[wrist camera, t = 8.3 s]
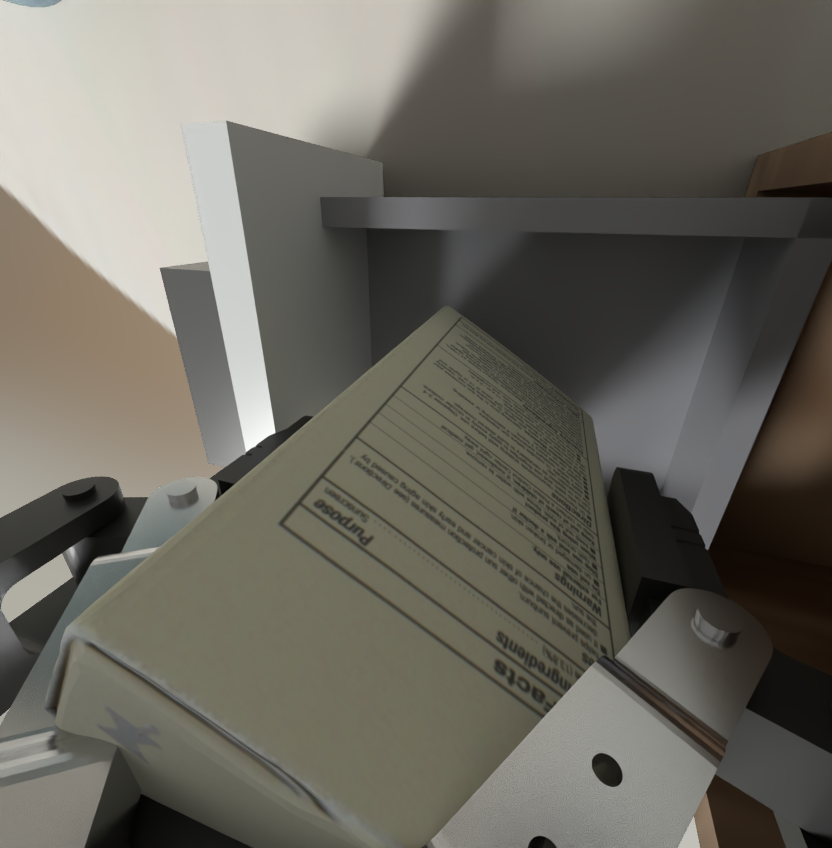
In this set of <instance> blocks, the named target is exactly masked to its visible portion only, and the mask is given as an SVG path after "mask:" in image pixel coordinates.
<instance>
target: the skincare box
mask: <svg viewBox="0 0 832 848" xmlns="http://www.w3.org/2000/svg"><path fill="white" fill-rule="evenodd" d="M630 639H631V634H630V628H629V622H628V619H627V613H626V607H625V601H624V595H623V589H622V583H621V577H620V571H619V565H618V560H617V554H616V548H615V542H614V536H613V531H612V526H611V520H610V515H609V509H608V503H607V497H606V492H605V486H604V480H603V475H602V469H601V464H600V458H599V452H598V446H597V440H596V436H595V429H594V423H593V419H592V417H591V416H590V415H589V414H588V413H587V412H585V411H584V410H583V409H582V408H581V407H579V406H578V405H577V404H576V403H575V402H574V401H572V400H571V399H570V398H569V397H568V396H566V395H565V394H564V393H563V392H561V391H560V390H559V389H558V388H557V387H555V386H554V385H553V384H552V383H550V382H549V381H548V380H547V379H545V378H544V377H543V376H542V375H540V374H539V373H538V372H537V371H535V370H534V369H533V368H532V367H530V366H529V365H528V364H526V363H525V362H524V361H523V360H521V359H520V358H519V357H517V356H516V355H515V354H513V353H512V352H511V351H510V350H508V349H507V348H506V347H504V346H503V345H502V344H500V343H499V342H498V341H496V340H495V339H494V338H492V337H491V336H490V335H488V334H487V333H486V332H484V331H483V330H482V329H480V328H479V327H478V326H476V325H475V324H474V323H472V322H471V321H469V320H468V319H467V318H465V317H464V316H462V315H461V314H460V313H458V312H457V311H456V310H454V309H453V308H451V307H450V306H444V307H443V308H442V309H440V310H439V311H438V312H437V313H436V314H435V315H433V316H432V317H431V318H430V319H429V320H428V321H426V322H425V323H424V324H423V325H422V326H420V327H419V328H418V329H417V330H416V331H414V332H413V333H412V334H411V335H410V336H408V337H407V338H406V339H405V340H404V341H403V342H401V343H400V344H399V345H398V346H397V347H395V348H394V349H393V350H392V351H391V352H389V353H388V354H387V355H386V356H385V357H384V358H382V359H381V360H380V361H379V362H378V363H377V364H375V365H374V366H373V367H372V368H371V369H369V370H368V371H367V372H366V373H365V374H363V375H362V376H361V377H360V378H359V379H358V380H356V381H355V382H354V383H353V384H352V385H351V386H349V387H348V388H347V389H346V390H345V391H344V392H342V393H341V394H340V395H339V396H338V397H337V398H335V399H334V400H333V401H332V402H331V403H330V404H328V405H327V406H326V407H325V408H324V409H323V410H321V411H320V412H319V413H318V414H317V415H316V416H314V417H313V418H312V419H311V420H310V421H308V422H307V423H306V424H305V425H304V426H303V427H301V428H300V429H299V430H298V431H297V432H296V433H294V434H293V435H292V436H291V437H290V438H289V439H287V440H286V441H285V442H284V443H283V444H282V445H280V446H279V447H278V448H277V449H276V450H274V451H273V452H272V453H271V454H270V455H269V456H267V457H266V458H265V459H264V460H263V461H262V462H260V463H259V464H258V465H257V466H256V467H255V468H253V469H252V470H251V471H250V472H249V473H247V474H246V475H245V476H244V477H243V478H241V479H240V480H239V481H238V482H237V483H236V484H234V485H233V486H232V487H231V488H230V489H229V490H227V491H226V492H225V493H224V494H223V495H221V496H220V497H219V498H218V499H217V500H216V501H214V502H213V503H212V504H211V505H210V506H208V507H207V508H206V509H205V510H204V511H203V512H201V513H200V514H199V515H198V516H197V517H195V518H194V519H193V520H192V521H191V522H189V523H188V524H187V525H186V526H185V527H183V528H182V529H181V530H180V531H179V532H177V533H176V534H175V535H174V536H173V537H171V538H170V539H169V540H168V541H166V542H165V543H164V544H163V545H162V546H160V547H159V548H158V549H157V550H156V551H154V552H153V553H152V554H151V555H149V556H148V557H147V558H146V559H145V560H143V561H142V562H141V563H140V564H139V565H138V566H136V567H135V568H134V569H133V570H132V571H131V572H129V573H128V574H127V575H126V576H125V577H123V578H122V579H121V580H120V581H119V582H118V583H116V584H115V585H114V586H113V587H112V588H110V589H109V590H108V591H107V592H106V593H105V594H103V595H102V596H101V597H100V598H99V599H97V600H96V601H95V602H94V603H93V604H92V605H91V606H89V607H88V608H87V609H86V610H85V611H84V612H83V613H82V614H80V615H79V616H78V617H77V618H76V619H75V620H74V621H73V622H72V623H70V624H69V625H68V626H67V627H66V629H65V631H64V634H63V637H62V640H61V644H60V653H59V657H58V659H57V661H56V663H55V666H54V668H53V675H52V678H51V681H50V684H49V687H48V690H47V695H46V699H45V704H44V708H49V707H57V715H56V718H55V721H54V724H55V725H56V726H58V727H59V728H60V729H62V730H64V731H67V732H70V733H73V734H76V735H81V736H88V737H93V738H97V739H101V740H104V741H107V742H110V743H113V744H115V745H118V747H119V749H120V750H121V752H122V754H123V756H124V758H125V760H126V762H127V763H128V765H129V767H130V769H131V771H132V773H133V775H134V777H135V778H136V780H137V782H138V784H139V786H140V788H141V790H142V791H141V794H143V795H145V796H147V797H149V798H151V799H153V800H155V801H157V802H159V803H161V804H163V805H165V806H167V807H169V808H171V809H173V810H176V811H178V812H180V813H182V814H184V815H186V816H188V817H190V818H192V819H194V820H196V821H198V822H200V823H202V824H204V825H206V826H208V827H210V828H212V829H214V830H216V831H218V832H221V833H223V834H225V835H227V836H229V837H231V838H233V839H236V840H238V841H240V842H242V843H244V844H246V845H249V846H251V847H253V848H422V847H423V846H424V845H426V844H427V843H428V842H429V841H430V840H431V839H432V838H434V837H435V836H436V835H437V834H438V832H439V831H440V830H441V829H442V828H443V827H444V826H445V825H446V824H447V823H448V822H449V821H450V819H451V818H452V817H453V816H454V815H455V814H456V813H457V812H458V811H459V810H460V808H461V807H462V806H463V805H464V804H465V803H466V802H467V801H468V800H469V799H470V798H471V796H472V795H473V794H474V793H475V792H476V791H477V790H478V789H479V788H480V787H481V786H482V784H483V783H484V782H485V781H486V780H487V779H488V778H489V777H490V776H491V775H492V773H493V772H494V771H495V770H496V769H497V768H498V767H499V766H500V765H501V764H502V763H503V761H504V760H505V759H506V758H507V757H508V756H509V755H510V754H511V753H512V752H513V751H514V749H515V748H516V747H517V746H518V745H519V744H520V743H521V742H522V741H523V740H524V738H525V737H526V736H527V735H528V734H529V733H530V732H531V731H532V730H533V729H534V728H535V726H536V725H537V724H538V723H539V722H540V721H541V720H542V719H543V718H544V717H545V716H546V714H547V713H548V712H549V711H550V710H551V709H552V708H553V707H554V706H555V705H556V703H557V702H558V701H559V700H560V699H561V698H562V697H563V696H564V695H565V694H566V693H567V691H568V690H569V689H570V688H571V687H572V686H573V685H574V684H575V683H576V682H577V681H578V679H579V678H580V677H581V676H582V675H583V674H584V673H585V672H586V671H587V670H588V668H589V667H590V666H591V665H592V664H593V663H594V662H595V661H596V660H597V659H599V658H600V657H601V656H604V655H606V656H607V657H609V658H610V659H611V660H612V659H613V658H614V657H615V656H616V655H617V654H618V653H619V652H620V651H621V650H622V648H623V647H624V646H625V645H626V644H627V643H628V642H629V640H630Z"/></svg>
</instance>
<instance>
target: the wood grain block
mask: <svg viewBox="0 0 832 848" xmlns="http://www.w3.org/2000/svg"><path fill="white" fill-rule="evenodd" d="M745 197H789V198H832V132H830V133H827V134H824V135H821V136H818V137H815V138H811V139H808V140H805V141H802V142H799V143H796V144H793V145H789V146H786V147H783V148H780V149H777V150H774V151H771V152H767V153H764V154H761V155H758V158H757V161H756V164H755V167H754V170H753V173H752V176H751V179H750V183H749V186H748V189H747V192H746V195H745ZM708 552H709V555H710V557H711V559H712V562H713V564H714V566H715V569H716V571H717V574H718V576H719V578H720V581H721V583H722V585H723V588H724V590H725V592H726V595H727V597H728V599H729V600H731V601H733V602H735V603H736V604H738V605H739V606H741V607H742V608H744V609H745V610H746V611H748V612H749V613H750V614H751V615H752V616H754V617H755V618H756V619H757V620H758V621H759V623H760V624H761V625H762V626H763V627H764V629H765V630H766V631H767V633H768V635H769V637H770V639H771V642H772V645H773V647H774V648H775V649H777V650H779V651H780V652H782V653H784V654H786V655H788V656H790V657H792V658H794V659H796V660H798V661H800V662H803V663H805V664H807V665H809V666H811V667H814V668H816V669H818V670H820V671H822V672H824V673H827V674H829V675H831V676H832V260H831V262H830V264H829V267H828V269H827V272H826V274H825V276H824V279H823V281H822V283H821V286H820V288H819V290H818V293H817V295H816V297H815V300H814V302H813V304H812V307H811V309H810V312H809V314H808V316H807V319H806V321H805V323H804V326H803V328H802V330H801V333H800V335H799V337H798V340H797V342H796V344H795V347H794V349H793V351H792V354H791V356H790V359H789V361H788V363H787V366H786V368H785V370H784V373H783V375H782V377H781V380H780V382H779V384H778V387H777V389H776V391H775V394H774V396H773V399H772V401H771V403H770V406H769V408H768V410H767V413H766V415H765V417H764V420H763V422H762V424H761V427H760V429H759V431H758V434H757V436H756V439H755V441H754V443H753V446H752V448H751V450H750V453H749V455H748V457H747V460H746V462H745V464H744V467H743V469H742V471H741V474H740V476H739V478H738V481H737V483H736V486H735V488H734V490H733V493H732V495H731V497H730V500H729V502H728V504H727V507H726V509H725V511H724V514H723V516H722V518H721V521H720V523H719V526H718V528H717V530H716V533H715V535H714V537H713V540H712V542H711V544H710V547H709V549H708ZM694 818H695V823H696V828H697V833H698V838H699V843H700V848H786V846H785V843H784V840H783V837H782V835H781V832H780V829H779V826H778V823H777V821H776V818H775V815H774V812H773V810H772V809H770V808H769V807H767V806H765V805H764V804H762V803H761V802H759V801H757V800H756V799H754V798H753V797H751V796H749V795H748V794H746V793H745V792H743V791H741V790H740V789H738V788H737V787H735V786H733V785H732V784H730V783H729V782H727V781H725V780H724V779H722V778H721V777H719V776H717V775H716V774H715V775H714V777H713V779H712V781H711V783H710V785H709V787H708V789H707V790H706V792H705V794H704V796H703V798H702V800H701V802H700V804H699V806H698V808H697V810H696V812H695V814H694Z"/></svg>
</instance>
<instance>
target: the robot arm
mask: <svg viewBox="0 0 832 848" xmlns="http://www.w3.org/2000/svg"><path fill="white" fill-rule="evenodd" d="M313 417H314V416H307V415H306V416H303V417H302V418H300V419H299V420H298V421H296V422H295V423H294V424H292V425H291V426H290V427H288V428H287V429H285V430H282V431H280V432H277V433H275V434H272V435H269V436H268V437H266V438H265V439H264V440H262V441H261V442H259V443H258V444H257V445H256V447H253V448H251V449H250V450H248V451H247V452H246V454H245V455H242V456H240V457H239V458H237V459H236V460H235V461H233V462H232V463H230V464H229V465H228V466H226V467H225V468H224V469H222V470H221V471H219V472H218V473H217V474H216V475H214V476H213V477H211V478H210V479H209V478H204V477H189V478H183V479H179V480H175V481H172V482H170V483H167V484H165V485H163V486H161V487H160V488H158V489H156V490H155V491H154V492H153V493H152V494H151V495H150V496H149V497H135V498H133V497H129V498H124V497H123V495H122V492H121V489H120V486H119V483H118V482H117V480H115V479H113V478H110V477H91V478H85V479H81V480H77V481H74V482H71V483H68V484H66V485H63V486H61V487H59V488H57V489H55V490H53V491H51V492H49V493H48V494H46V495H44V496H42V497H40V498H38V499H36V500H34V501H32V502H30V503H28V504H26V505H24V506H23V507H21V508H19V509H17V510H15V511H13V512H11V513H9V514H7V515H5V516H3V517H2V518H0V716H1V715H2V714H3V713H4V712H6V711H7V710H8V709H9V708H10V709H9V711H8V713H7V715H6V716H5V718H4V720H3V722H2V724H1V725H0V848H253V847H251V846H249V845H246V844H244V843H242V842H240V841H238V840H236V839H233V838H231V837H229V836H227V835H225V834H223V833H221V832H218V831H216V830H214V829H212V828H210V827H208V826H206V825H204V824H202V823H200V822H198V821H196V820H194V819H192V818H190V817H188V816H186V815H184V814H182V813H180V812H178V811H176V810H173V809H171V808H169V807H167V806H165V805H163V804H161V803H159V802H157V801H155V800H153V799H151V798H149V797H147V796H145V795H143V794H141V791H142V790H141V788H140V786H139V784H138V782H137V780H136V778H135V777H134V775H133V773H132V771H131V769H130V767H129V765H128V763H127V762H126V760H125V758H124V756H123V754H122V752H121V750H120V749H119V747H118V745H115V744H113V743H110V742H107V741H104V740H101V739H97V738H93V737H88V736H81V735H76V734H73V733H70V732H67V731H64V730H62V729H60V728H59V727H58V726H56V725H55V724H54V721H55V718H56V715H57V707H49V708H44V704H45V699H46V695H47V690H48V687H49V684H50V681H51V678H52V675H53V668H54V666H55V663H56V661H57V659H58V657H59V653H60V644H61V640H62V637H63V634H64V631H65V629H66V627H67V626H68V625H69V624H70V623H72V622H73V621H74V620H75V619H76V618H77V617H78V616H79V615H80V614H82V613H83V612H84V611H85V610H86V609H87V608H88V607H89V606H91V605H92V604H93V603H94V602H95V601H96V600H97V599H99V598H100V597H101V596H102V595H103V594H105V593H106V592H107V591H108V590H109V589H110V588H112V587H113V586H114V585H115V584H116V583H118V582H119V581H120V580H121V579H122V578H123V577H125V576H126V575H127V574H128V573H129V572H131V571H132V570H133V569H134V568H135V567H136V566H138V565H139V564H140V563H141V562H142V561H143V560H145V559H146V558H147V557H148V556H149V555H151V554H152V553H153V552H154V551H156V550H157V549H158V548H159V547H160V546H162V545H163V544H164V543H165V542H166V541H168V540H169V539H170V538H171V537H173V536H174V535H175V534H176V533H177V532H179V531H180V530H181V529H182V528H183V527H185V526H186V525H187V524H188V523H189V522H191V521H192V520H193V519H194V518H195V517H197V516H198V515H199V514H200V513H201V512H203V511H204V510H205V509H206V508H207V507H208V506H210V505H211V504H212V503H213V502H214V501H216V500H217V499H218V498H219V497H220V496H221V495H223V494H224V493H225V492H226V491H227V490H229V489H230V488H231V487H232V486H233V485H234V484H236V483H237V482H238V481H239V480H240V479H241V478H243V477H244V476H245V475H246V474H247V473H249V472H250V471H251V470H252V469H253V468H255V467H256V466H257V465H258V464H259V463H260V462H262V461H263V460H264V459H265V458H266V457H267V456H269V455H270V454H271V453H272V452H273V451H274V450H276V449H277V448H278V447H279V446H280V445H282V444H283V443H284V442H285V441H286V440H287V439H289V438H290V437H291V436H292V435H293V434H294V433H296V432H297V431H298V430H299V429H300V428H301V427H303V426H304V425H305V424H306V423H307V422H308V421H310V420H311V419H312V418H313ZM607 503H608V509H609V515H610V520H611V526H612V531H613V536H614V542H615V548H616V554H617V560H618V565H619V571H620V577H621V583H622V589H623V595H624V601H625V607H626V613H627V619H628V622H629V628H630V634H631V639H630V640H629V642H628V643H627V644H626V645H625V646H624V647H623V648H622V650H621V651H620V652H619V653H618V654H617V655H616V656H615V657H614V658H613V659H612V660H611V659H610V658H609V657H607V656H606V655H604V656H601V657H600V658H599V659H597V660H596V661H595V662H594V663H593V664H592V665H591V666H590V667H589V668H588V670H587V671H586V672H585V673H584V674H583V675H582V676H581V677H580V678H579V679H578V681H577V682H576V683H575V684H574V685H573V686H572V687H571V688H570V689H569V690H568V691H567V693H566V694H565V695H564V696H563V697H562V698H561V699H560V700H559V701H558V702H557V703H556V705H555V706H554V707H553V708H552V709H551V710H550V711H549V712H548V713H547V714H546V716H545V717H544V718H543V719H542V720H541V721H540V722H539V723H538V724H537V725H536V726H535V728H534V729H533V730H532V731H531V732H530V733H529V734H528V735H527V736H526V737H525V738H524V740H523V741H522V742H521V743H520V744H519V745H518V746H517V747H516V748H515V749H514V751H513V752H512V753H511V754H510V755H509V756H508V757H507V758H506V759H505V760H504V761H503V763H502V764H501V765H500V766H499V767H498V768H497V769H496V770H495V771H494V772H493V773H492V775H491V776H490V777H489V778H488V779H487V780H486V781H485V782H484V783H483V784H482V786H481V787H480V788H479V789H478V790H477V791H476V792H475V793H474V794H473V795H472V796H471V798H470V799H469V800H468V801H467V802H466V803H465V804H464V805H463V806H462V807H461V808H460V810H459V811H458V812H457V813H456V814H455V815H454V816H453V817H452V818H451V819H450V821H449V822H448V823H447V824H446V825H445V826H444V827H443V828H442V829H441V830H440V831H439V832H438V834H437V835H436V836H435V837H434V838H432V839H431V840H430V841H429V842H428V843H427V844H426V845H424V846H423V847H422V848H678V846H679V844H680V842H681V840H682V838H683V836H684V834H685V832H686V830H687V828H688V826H689V824H690V822H691V820H692V818H693V816H694V814H695V812H696V810H697V808H698V806H699V804H700V802H701V800H702V798H703V796H704V794H705V792H706V790H707V789H708V787H709V785H710V783H711V781H712V779H713V777H714V775H715V774H716V775H717V776H719V777H721V778H722V779H724V780H725V781H727V782H729V783H730V784H732V785H733V786H735V787H737V788H738V789H740V790H741V791H743V792H745V793H746V794H748V795H749V796H751V797H753V798H754V799H756V800H757V801H759V802H761V803H762V804H764V805H765V806H767V807H769V808H770V809H772V810H773V812H774V815H775V818H776V821H777V823H778V826H779V829H780V832H781V835H782V837H783V840H784V843H785V846H786V848H832V676H831V675H829V674H827V673H824V672H822V671H820V670H818V669H816V668H814V667H811V666H809V665H807V664H805V663H803V662H800V661H798V660H796V659H794V658H792V657H790V656H788V655H786V654H784V653H782V652H780V651H779V650H777V649H775V648H774V647H773V645H772V642H771V639H770V637H769V635H768V633H767V631H766V630H765V629H764V627H763V626H762V625H761V624H760V623H759V621H758V620H757V619H756V618H755V617H754V616H752V615H751V614H750V613H749V612H748V611H746V610H745V609H744V608H742V607H741V606H739V605H738V604H736V603H735V602H733V601H731V600H729V599H728V597H727V595H726V592H725V590H724V588H723V585H722V583H721V581H720V578H719V576H718V574H717V571H716V569H715V566H714V564H713V562H712V559H711V557H710V555H709V552H708V550H707V549H705V543H704V541H703V538H702V536H701V535H700V534H699V529H698V527H697V524H696V522H695V520H694V517H693V515H692V514H691V513H690V512H689V511H688V510H687V509H686V508H685V507H684V506H683V505H682V504H681V503H680V502H679V501H678V500H677V499H676V498H670V497H665V496H661V495H660V492H659V489H658V486H657V483H656V480H655V477H654V475H653V473H651V472H645V471H639V470H633V469H627V468H621V467H617V468H616V469H615V471H614V474H613V477H612V481H611V484H610V488H609V492H608V496H607ZM61 553H62V554H63V556H64V558H65V560H66V562H67V565H68V566H69V569H70V571H71V573H72V575H73V578H71V579H70V580H68V581H67V582H66V583H64V584H63V585H61V586H60V587H59V588H57V589H56V590H54V591H53V592H52V593H51V594H49V595H47V596H46V597H45V598H43V599H42V600H41V601H39V602H38V603H36V604H35V605H34V606H32V607H31V608H29V609H28V610H27V611H25V612H24V613H22V614H21V615H20V616H18V617H17V618H15V619H14V620H13V621H11V622H10V623H8V621H7V619H6V618H5V616H4V614H3V613H2V611H1V602H2V599H3V597H4V595H5V594H6V592H7V591H8V590H9V589H10V588H11V587H12V586H13V585H14V584H15V583H17V582H18V581H20V580H21V579H23V578H24V577H26V576H27V575H29V574H30V573H32V572H33V571H35V570H37V569H38V568H40V567H41V566H43V565H44V564H46V563H47V562H49V561H50V560H52V559H54V558H55V557H56V556H58V555H60V554H61Z"/></svg>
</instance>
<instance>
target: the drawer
mask: <svg viewBox="0 0 832 848" xmlns="http://www.w3.org/2000/svg"><path fill="white" fill-rule="evenodd" d="M181 128H182V133H183V138H184V143H185V148H186V153H187V158H188V163H189V168H190V173H191V178H192V183H193V188H194V193H195V198H196V203H197V208H198V213H199V218H200V223H201V228H202V233H203V238H204V243H205V248H206V253H207V258H208V262H202V263H195V264H187V265H179V266H172V267H164V268H160V271H161V275H162V279H163V283H164V287H165V291H166V295H167V299H168V303H169V307H170V311H171V315H172V319H173V323H174V327H175V331H176V335H177V339H178V343H179V347H180V351H181V355H182V359H183V363H184V367H185V371H186V375H187V379H188V383H189V387H190V391H191V395H192V400H193V403H194V408H195V412H196V415H197V419H198V423H199V428H200V431H201V436H202V440H203V444H204V447H205V452H206V456H207V460H208V463H209V464H213V465H218V466H222V467H226V466H228V465H229V464H230V463H232V462H233V461H235V460H236V459H237V458H239V457H240V456H242V455H245V454H246V452H247V451H248V450H250V449H251V448H253V447H256V445H257V444H258V443H259V442H261V441H262V440H264V439H265V438H266V437H268V436H269V435H272V434H275V433H277V432H280V431H282V430H285V429H287V428H288V427H290V426H291V425H292V424H294V423H295V422H296V421H298V420H299V419H300V418H302V417H303V416H306V415H307V416H316V415H317V414H318V413H319V412H320V411H321V410H323V409H324V408H325V407H326V406H327V405H328V404H330V403H331V402H332V401H333V400H334V399H335V398H337V397H338V396H339V395H340V394H341V393H342V392H344V391H345V390H346V389H347V388H348V387H349V386H351V385H352V384H353V383H354V382H355V381H356V380H358V379H359V378H360V377H361V376H362V375H363V374H365V373H366V372H367V371H368V370H369V369H371V368H372V367H373V366H374V365H375V364H377V363H378V362H379V361H380V360H381V359H382V358H384V357H385V356H386V355H387V354H388V353H389V352H391V351H392V350H393V349H394V348H395V347H397V346H398V345H399V344H400V343H401V342H403V341H404V340H405V339H406V338H407V337H408V336H410V335H411V334H412V333H413V332H414V331H416V330H417V329H418V328H419V327H420V326H422V325H423V324H424V323H425V322H426V321H428V320H429V319H430V318H431V317H432V316H433V315H435V314H436V313H437V312H438V311H439V310H440V309H442V308H443V307H444V306H450V307H451V308H453V309H454V310H456V311H457V312H458V313H460V314H461V315H462V316H464V317H465V318H467V319H468V320H469V321H471V322H472V323H474V324H475V325H476V326H478V327H479V328H480V329H482V330H483V331H484V332H486V333H487V334H488V335H490V336H491V337H492V338H494V339H495V340H496V341H498V342H499V343H500V344H502V345H503V346H504V347H506V348H507V349H508V350H510V351H511V352H512V353H513V354H515V355H516V356H517V357H519V358H520V359H521V360H523V361H524V362H525V363H526V364H528V365H529V366H530V367H532V368H533V369H534V370H535V371H537V372H538V373H539V374H540V375H542V376H543V377H544V378H545V379H547V380H548V381H549V382H550V383H552V384H553V385H554V386H555V387H557V388H558V389H559V390H560V391H561V392H563V393H564V394H565V395H566V396H568V397H569V398H570V399H571V400H572V401H574V402H575V403H576V404H577V405H578V406H579V407H581V408H582V409H583V410H584V411H585V412H587V413H588V414H589V415H590V416H591V417H592V419H593V423H594V429H595V436H596V440H597V446H598V452H599V458H600V464H601V469H602V475H603V480H604V486H605V492H606V497H607V496H608V492H609V488H610V484H611V481H612V477H613V474H614V471H615V469H616V468H617V467H621V468H627V469H633V470H639V471H645V472H651V473H653V475H654V477H655V480H656V483H657V486H658V489H659V492H660V495H661V496H665V497H670V498H676V499H677V500H678V501H679V502H680V503H681V504H682V505H683V506H684V507H685V508H686V509H687V510H688V511H689V512H690V513H691V514H692V515H693V517H694V520H695V522H696V524H697V527H698V529H699V534H700V535H701V536H702V538H703V541H704V543H705V549H707V550H708V549H709V547H710V544H711V542H712V540H713V537H714V535H715V533H716V530H717V528H718V526H719V523H720V521H721V518H722V516H723V514H724V511H725V509H726V507H727V504H728V502H729V500H730V497H731V495H732V493H733V490H734V488H735V486H736V483H737V481H738V478H739V476H740V474H741V471H742V469H743V467H744V464H745V462H746V460H747V457H748V455H749V453H750V450H751V448H752V446H753V443H754V441H755V439H756V436H757V434H758V431H759V429H760V427H761V424H762V422H763V420H764V417H765V415H766V413H767V410H768V408H769V406H770V403H771V401H772V399H773V396H774V394H775V391H776V389H777V387H778V384H779V382H780V380H781V377H782V375H783V373H784V370H785V368H786V366H787V363H788V361H789V359H790V356H791V354H792V351H793V349H794V347H795V344H796V342H797V340H798V337H799V335H800V333H801V330H802V328H803V326H804V323H805V321H806V319H807V316H808V314H809V312H810V309H811V307H812V304H813V302H814V300H815V297H816V295H817V293H818V290H819V288H820V286H821V283H822V281H823V279H824V276H825V274H826V272H827V269H828V267H829V264H830V262H831V260H832V198H789V197H384V193H383V163H382V162H379V161H375V160H371V159H368V158H364V157H360V156H356V155H353V154H349V153H345V152H341V151H338V150H334V149H330V148H326V147H323V146H319V145H315V144H311V143H308V142H304V141H300V140H296V139H293V138H289V137H285V136H281V135H278V134H274V133H270V132H266V131H263V130H259V129H255V128H251V127H248V126H244V125H240V124H237V123H233V122H229V121H213V122H197V123H181Z"/></svg>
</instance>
